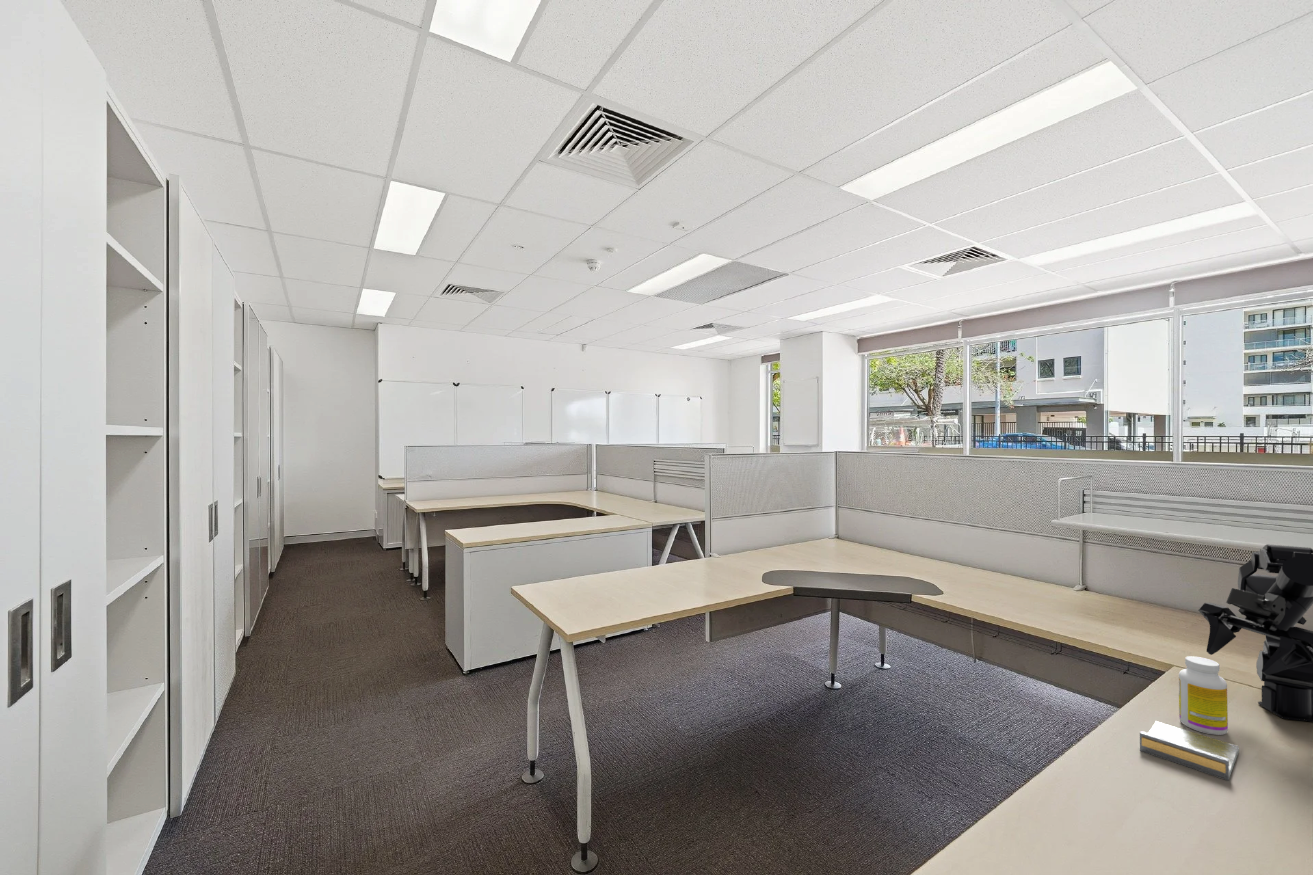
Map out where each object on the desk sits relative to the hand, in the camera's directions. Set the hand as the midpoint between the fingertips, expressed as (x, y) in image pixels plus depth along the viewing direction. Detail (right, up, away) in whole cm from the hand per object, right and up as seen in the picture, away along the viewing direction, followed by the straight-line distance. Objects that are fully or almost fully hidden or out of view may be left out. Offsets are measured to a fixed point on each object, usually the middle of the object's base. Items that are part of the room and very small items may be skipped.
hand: (1235, 662), depth 105 cm
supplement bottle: (-6, -13, 0) cm, 14 cm away
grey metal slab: (-16, -13, -7) cm, 22 cm away
